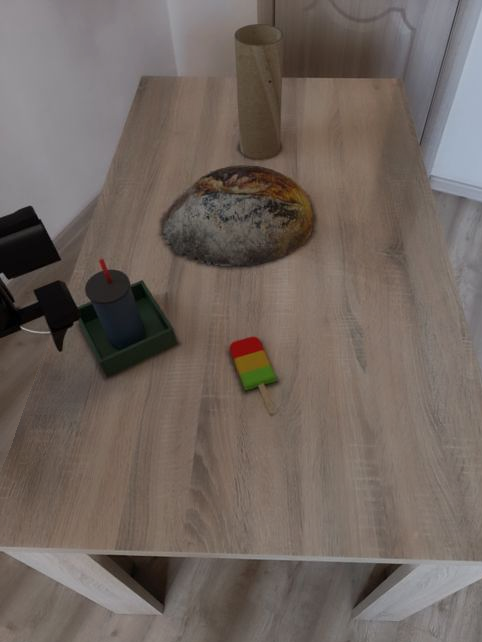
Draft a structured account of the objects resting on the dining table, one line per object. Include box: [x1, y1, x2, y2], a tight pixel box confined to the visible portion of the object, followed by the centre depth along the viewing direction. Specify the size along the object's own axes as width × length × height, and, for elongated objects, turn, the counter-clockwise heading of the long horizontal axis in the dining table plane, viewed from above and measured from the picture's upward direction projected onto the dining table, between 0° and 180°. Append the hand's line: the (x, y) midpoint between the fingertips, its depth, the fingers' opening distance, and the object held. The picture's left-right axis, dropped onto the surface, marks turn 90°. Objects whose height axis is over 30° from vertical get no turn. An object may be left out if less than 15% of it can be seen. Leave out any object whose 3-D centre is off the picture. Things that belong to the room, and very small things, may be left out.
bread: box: [162, 164, 315, 267], centre depth 98 cm, size 27×32×10 cm
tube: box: [234, 23, 284, 160], centre depth 107 cm, size 10×10×25 cm
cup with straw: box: [84, 258, 146, 350], centre depth 77 cm, size 7×7×18 cm
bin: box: [77, 279, 178, 378], centre depth 83 cm, size 13×13×4 cm
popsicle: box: [229, 336, 277, 415], centre depth 79 cm, size 6×15×2 cm, turn 20°
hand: (27, 363), depth 66 cm, fingers open, 9 cm apart
